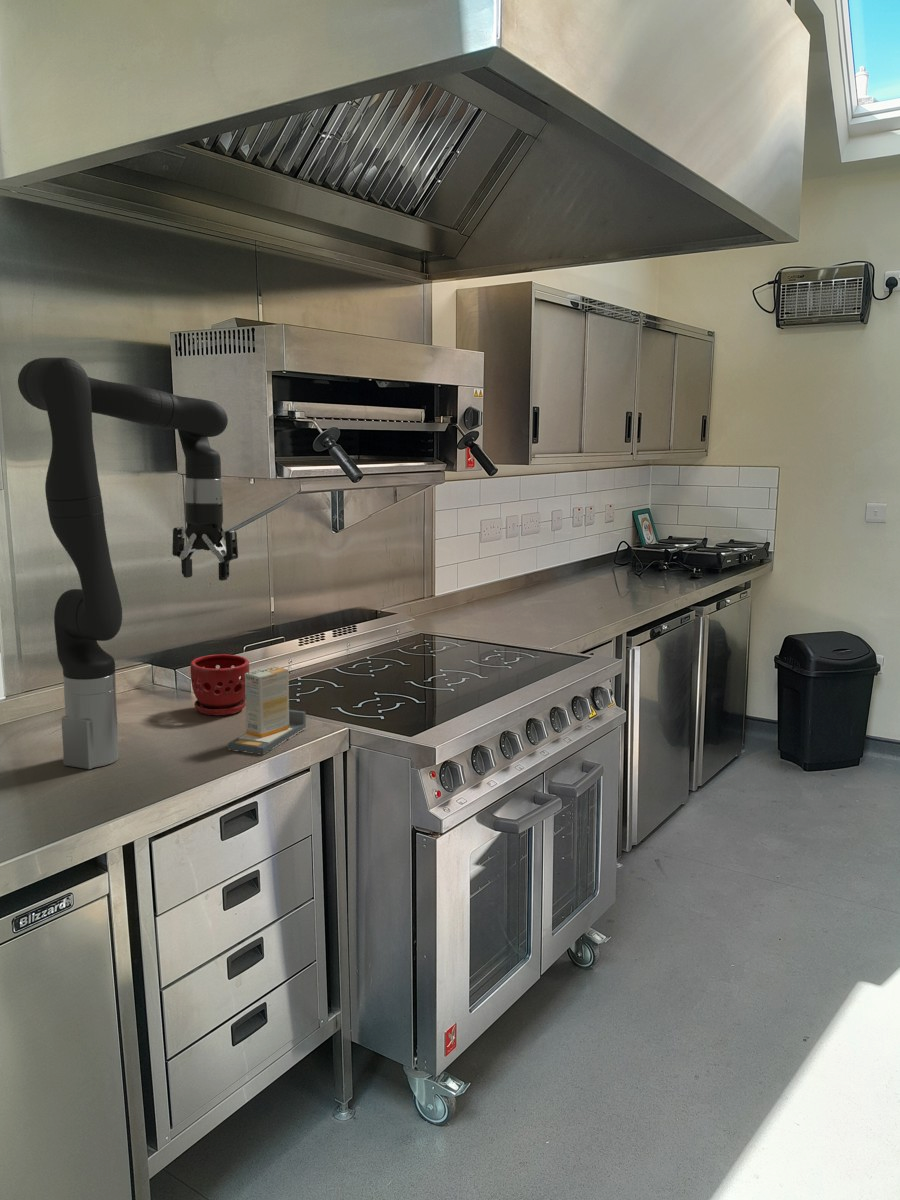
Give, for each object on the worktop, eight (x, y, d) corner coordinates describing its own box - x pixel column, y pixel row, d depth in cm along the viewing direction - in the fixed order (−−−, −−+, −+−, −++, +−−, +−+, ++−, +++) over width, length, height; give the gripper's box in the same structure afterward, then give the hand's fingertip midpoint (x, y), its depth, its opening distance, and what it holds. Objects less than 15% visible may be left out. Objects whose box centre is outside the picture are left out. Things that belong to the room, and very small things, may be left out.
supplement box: (274, 724, 193) (273, 665, 191) (290, 729, 190) (289, 668, 188) (244, 733, 186) (243, 672, 184) (260, 738, 183) (259, 676, 181)
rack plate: (263, 755, 179) (263, 735, 178) (228, 750, 181) (227, 731, 180) (305, 729, 195) (305, 711, 195) (273, 725, 198) (273, 707, 197)
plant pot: (179, 712, 206) (178, 661, 204) (223, 699, 217) (222, 651, 215) (218, 722, 199) (217, 670, 197) (261, 709, 209) (261, 659, 207)
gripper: (163, 500, 183) (165, 578, 186) (223, 503, 179) (225, 583, 181) (185, 498, 190) (187, 574, 193) (243, 501, 186) (245, 578, 188)
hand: (205, 578), depth 187 cm, fingers open, 8 cm apart
